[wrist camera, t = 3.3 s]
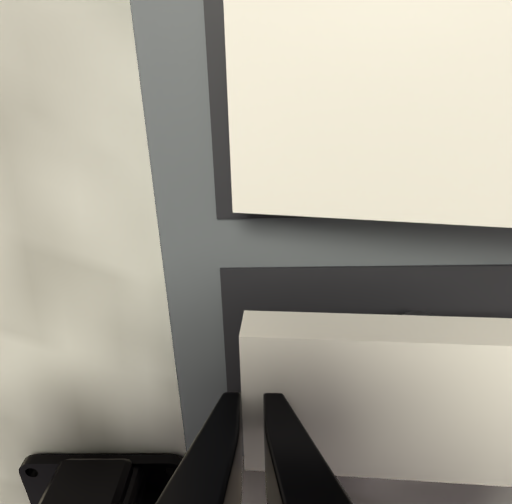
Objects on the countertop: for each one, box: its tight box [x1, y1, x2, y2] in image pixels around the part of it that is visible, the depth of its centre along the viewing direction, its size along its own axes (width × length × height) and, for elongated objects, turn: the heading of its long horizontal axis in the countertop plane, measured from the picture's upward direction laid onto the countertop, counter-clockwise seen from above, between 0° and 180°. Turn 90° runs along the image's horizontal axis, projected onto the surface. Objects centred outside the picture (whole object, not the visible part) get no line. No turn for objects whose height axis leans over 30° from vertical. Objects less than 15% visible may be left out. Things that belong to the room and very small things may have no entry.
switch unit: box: [130, 0, 512, 456], centre depth 9 cm, size 21×14×3 cm, turn 1°
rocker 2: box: [239, 310, 512, 487], centre depth 9 cm, size 4×8×2 cm, turn 91°
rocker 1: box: [223, 0, 512, 228], centre depth 7 cm, size 4×8×2 cm, turn 91°
